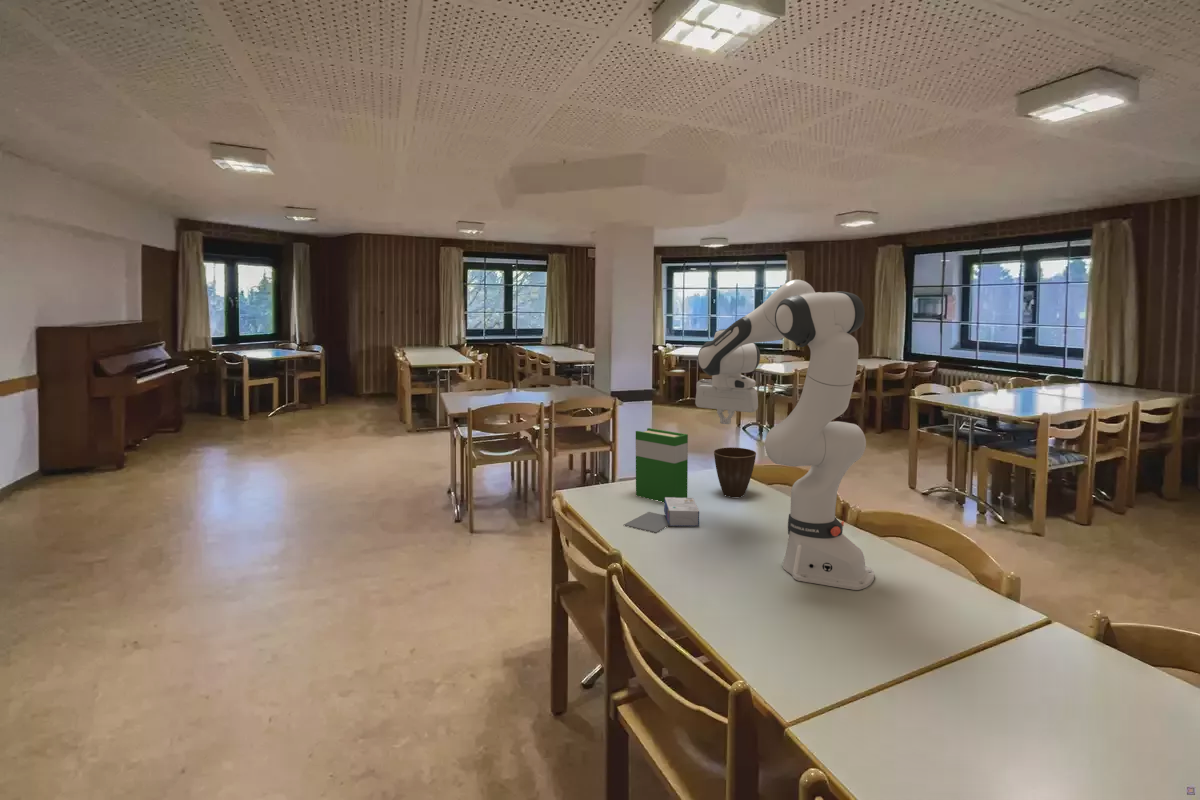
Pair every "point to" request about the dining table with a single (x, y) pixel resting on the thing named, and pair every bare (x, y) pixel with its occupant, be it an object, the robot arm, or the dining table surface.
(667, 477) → the hardback book
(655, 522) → the mat
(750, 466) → the plant pot
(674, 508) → the ink cartridge box
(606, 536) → the dining table surface
